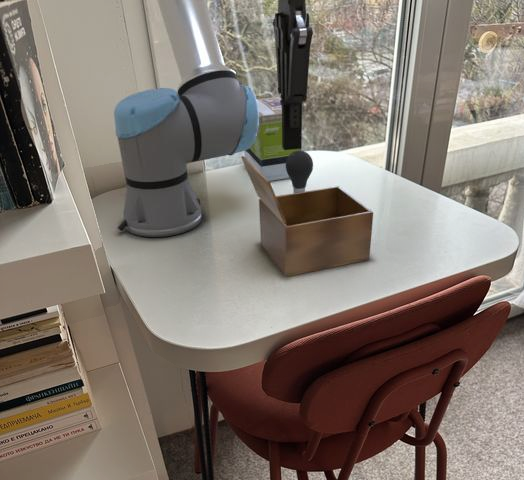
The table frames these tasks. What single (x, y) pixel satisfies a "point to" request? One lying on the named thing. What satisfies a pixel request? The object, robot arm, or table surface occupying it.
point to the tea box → (269, 141)
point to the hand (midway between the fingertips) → (291, 147)
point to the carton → (316, 230)
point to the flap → (263, 189)
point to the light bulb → (299, 169)
